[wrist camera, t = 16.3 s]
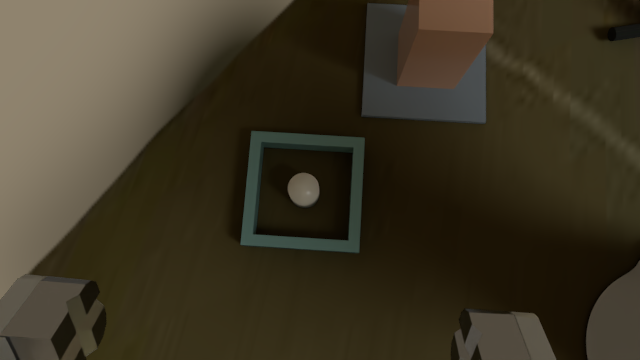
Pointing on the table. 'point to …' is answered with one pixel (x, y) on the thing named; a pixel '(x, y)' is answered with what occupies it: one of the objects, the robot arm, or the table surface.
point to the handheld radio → (624, 32)
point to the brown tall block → (441, 41)
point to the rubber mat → (414, 101)
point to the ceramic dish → (302, 190)
